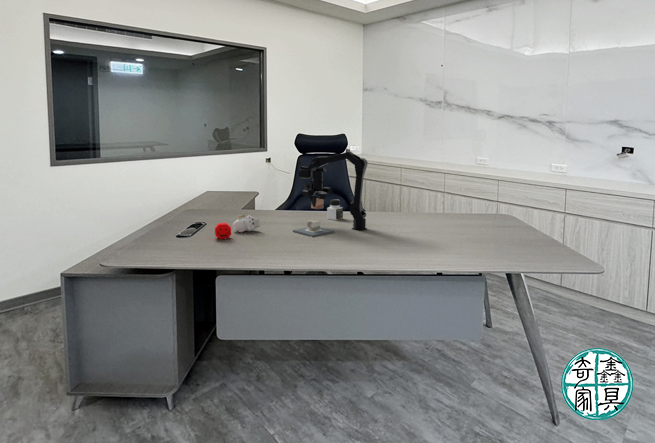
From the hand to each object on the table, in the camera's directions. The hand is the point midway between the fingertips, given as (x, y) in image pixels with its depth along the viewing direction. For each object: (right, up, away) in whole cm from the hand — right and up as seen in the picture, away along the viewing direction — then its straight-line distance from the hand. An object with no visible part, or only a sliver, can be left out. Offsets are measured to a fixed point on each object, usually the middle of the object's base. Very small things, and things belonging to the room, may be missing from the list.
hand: (317, 206), depth 284 cm
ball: (-48, -18, -28) cm, 58 cm away
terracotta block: (0, -1, 0) cm, 1 cm away
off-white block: (-2, -13, -13) cm, 19 cm away
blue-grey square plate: (-2, -15, -13) cm, 19 cm away
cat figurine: (-39, -14, -12) cm, 43 cm away
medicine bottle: (+10, -7, +23) cm, 26 cm away
